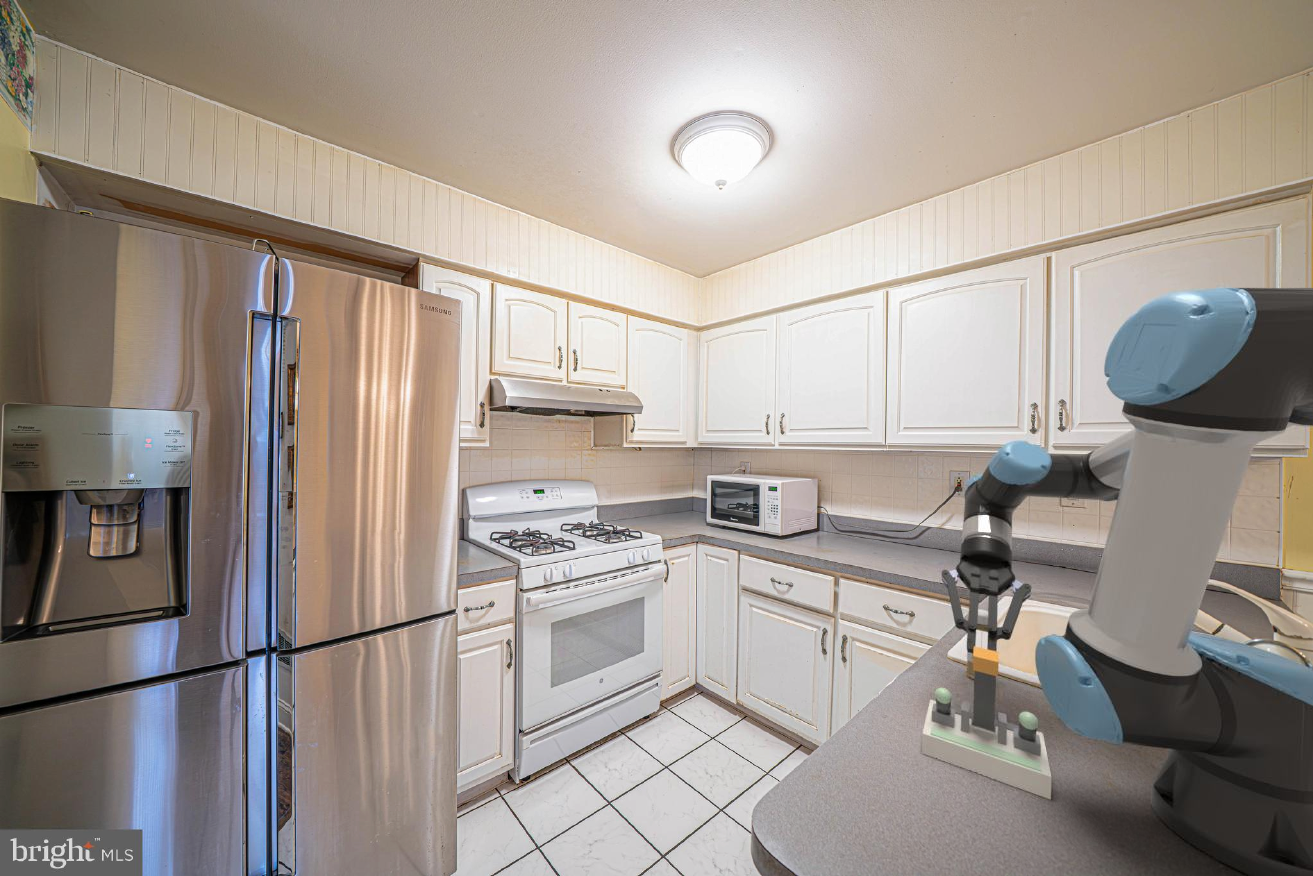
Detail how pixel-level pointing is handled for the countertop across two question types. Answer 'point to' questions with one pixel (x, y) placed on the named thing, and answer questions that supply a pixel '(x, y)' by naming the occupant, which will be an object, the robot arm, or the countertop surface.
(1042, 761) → the lever control panel
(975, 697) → the breaker lever
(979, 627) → the sprinkles bottle
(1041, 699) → the countertop surface
